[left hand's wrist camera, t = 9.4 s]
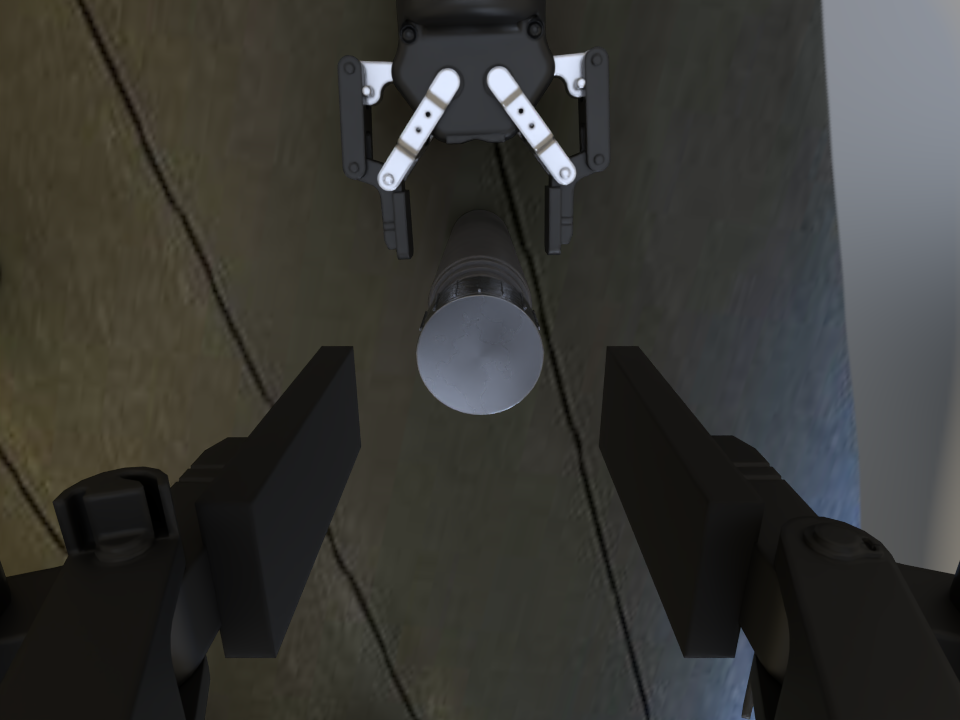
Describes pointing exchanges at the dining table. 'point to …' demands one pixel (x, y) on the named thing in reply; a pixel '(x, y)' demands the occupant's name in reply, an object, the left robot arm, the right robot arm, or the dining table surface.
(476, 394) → the cap
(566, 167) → the right robot arm
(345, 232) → the dining table surface
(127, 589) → the left robot arm
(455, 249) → the dark grey cylinder
